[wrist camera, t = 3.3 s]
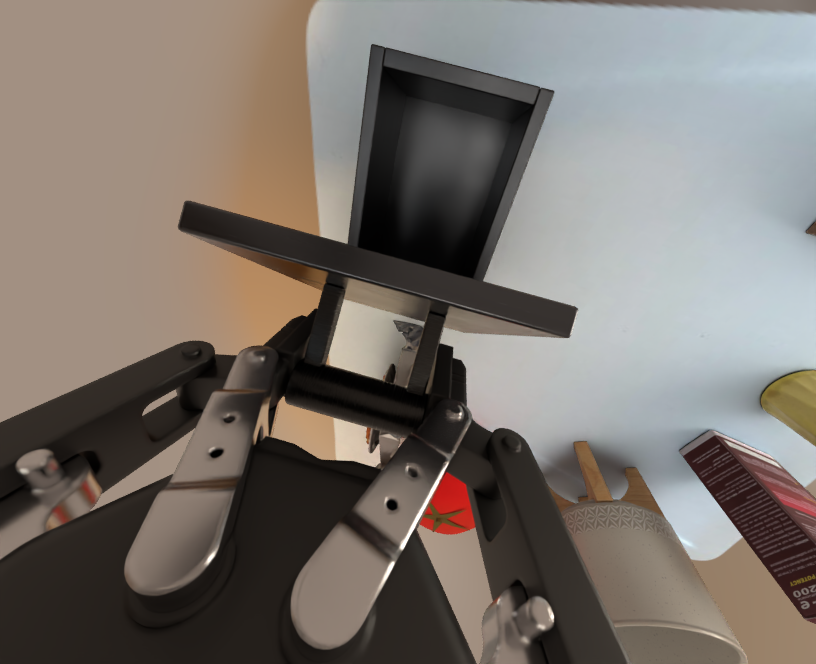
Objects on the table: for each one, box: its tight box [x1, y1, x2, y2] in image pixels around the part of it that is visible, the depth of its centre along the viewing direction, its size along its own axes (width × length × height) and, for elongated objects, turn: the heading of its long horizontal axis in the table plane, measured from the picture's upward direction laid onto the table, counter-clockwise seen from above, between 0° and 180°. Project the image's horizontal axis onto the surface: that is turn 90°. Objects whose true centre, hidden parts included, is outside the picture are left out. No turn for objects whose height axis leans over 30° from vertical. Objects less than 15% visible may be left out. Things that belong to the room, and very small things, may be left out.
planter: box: [547, 441, 748, 664], centre depth 33 cm, size 13×13×18 cm
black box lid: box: [178, 201, 578, 438], centre depth 15 cm, size 16×10×6 cm
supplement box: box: [679, 430, 816, 624], centre depth 29 cm, size 9×5×16 cm, turn 68°
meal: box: [366, 321, 423, 469], centre depth 32 cm, size 15×4×13 cm, turn 172°
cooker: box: [348, 44, 554, 281], centre depth 23 cm, size 15×10×9 cm
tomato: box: [420, 472, 475, 534], centre depth 38 cm, size 12×13×11 cm
